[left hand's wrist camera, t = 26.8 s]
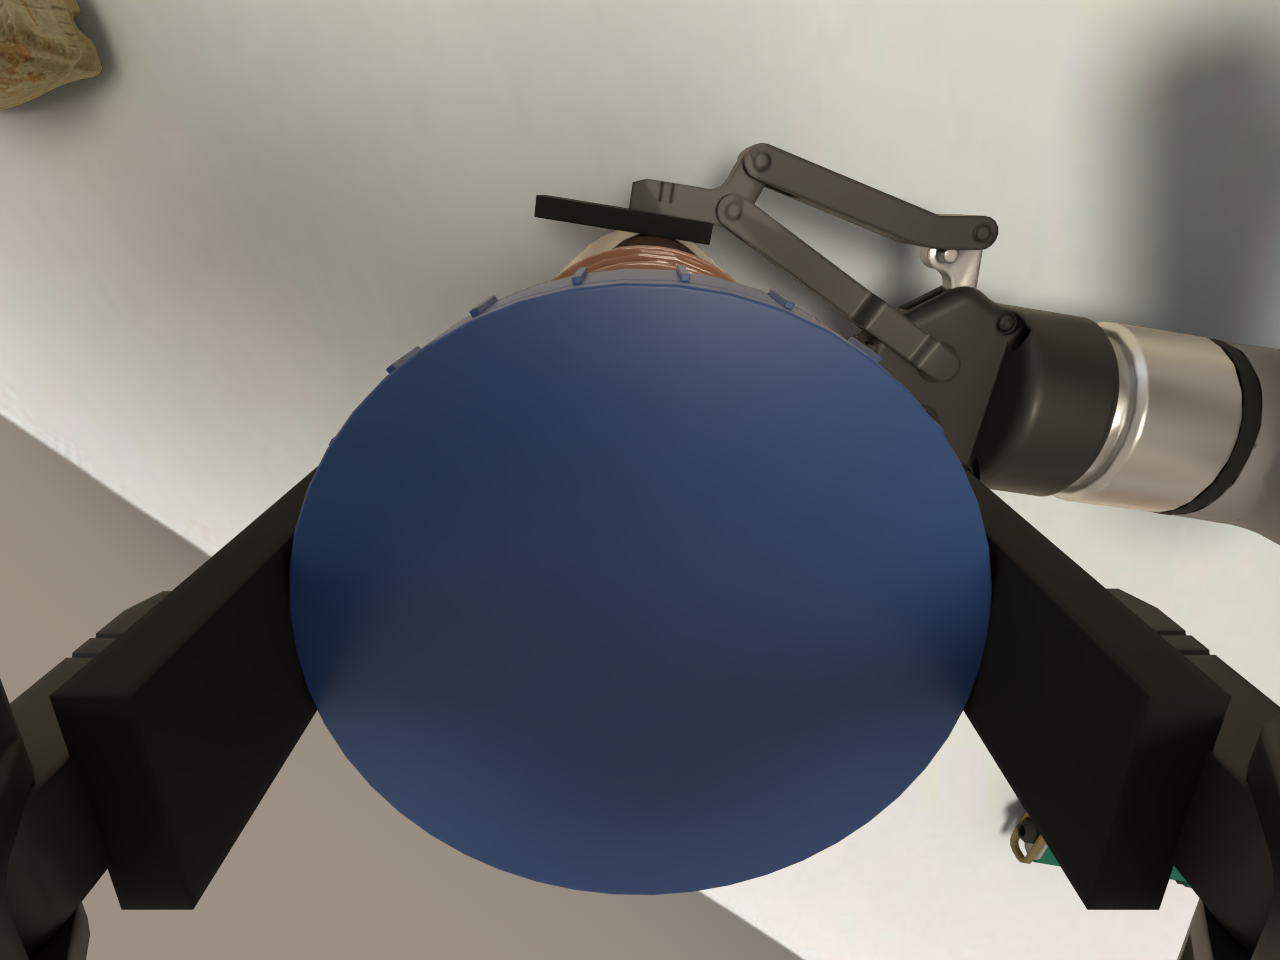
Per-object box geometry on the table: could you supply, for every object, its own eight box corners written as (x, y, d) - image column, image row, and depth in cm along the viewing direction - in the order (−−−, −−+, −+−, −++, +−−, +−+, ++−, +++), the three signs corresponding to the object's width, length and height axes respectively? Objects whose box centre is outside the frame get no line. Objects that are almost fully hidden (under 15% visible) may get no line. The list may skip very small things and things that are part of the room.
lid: (204, 435, 11) (128, 479, 9) (824, 133, 10) (863, 122, 8) (515, 877, 14) (497, 967, 12) (1016, 699, 13) (1072, 776, 11)
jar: (689, 195, 35) (723, 196, 20) (755, 363, 38) (825, 468, 23) (524, 272, 36) (446, 324, 22) (599, 429, 39) (574, 567, 24)
